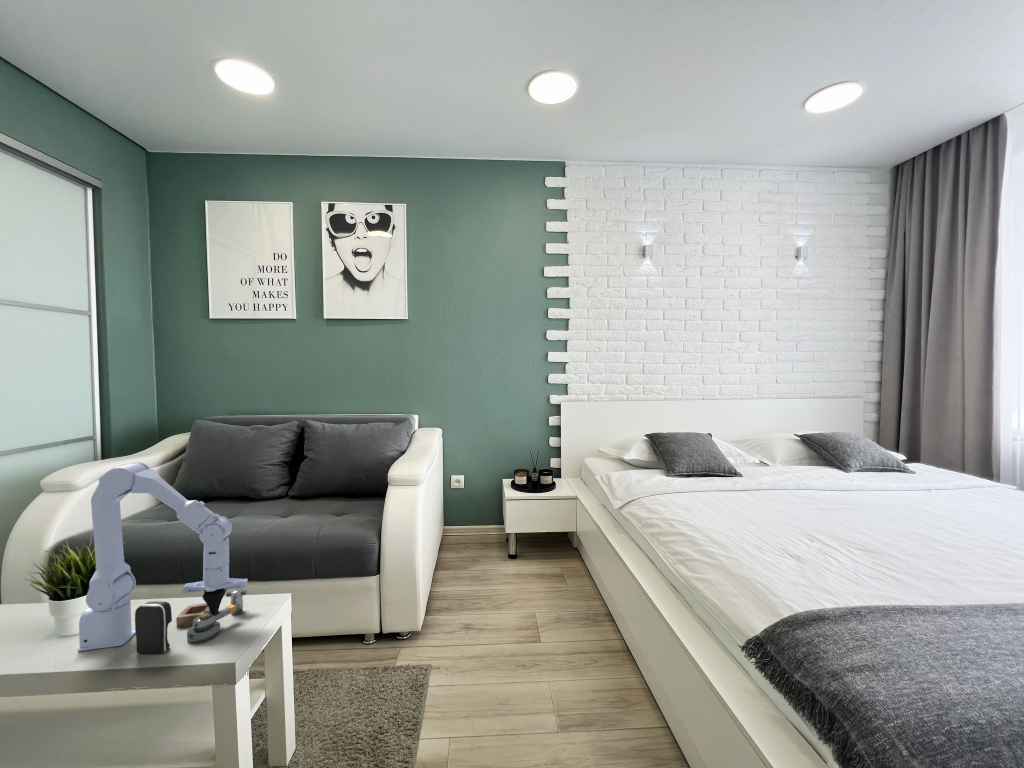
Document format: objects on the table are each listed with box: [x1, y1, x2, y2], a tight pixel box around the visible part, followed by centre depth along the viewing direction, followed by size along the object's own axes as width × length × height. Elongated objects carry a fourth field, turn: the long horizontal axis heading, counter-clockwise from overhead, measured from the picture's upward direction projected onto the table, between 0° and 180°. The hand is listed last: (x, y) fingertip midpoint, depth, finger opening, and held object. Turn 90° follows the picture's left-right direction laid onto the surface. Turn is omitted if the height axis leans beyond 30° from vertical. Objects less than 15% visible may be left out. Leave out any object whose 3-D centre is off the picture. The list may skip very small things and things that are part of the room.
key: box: [225, 588, 248, 616], centre depth 131 cm, size 5×3×6 cm, turn 103°
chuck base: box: [186, 611, 221, 645], centre depth 119 cm, size 7×7×6 cm
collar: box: [192, 604, 236, 632], centre depth 122 cm, size 4×11×2 cm, turn 160°
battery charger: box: [134, 600, 173, 655], centre depth 113 cm, size 7×4×11 cm, turn 86°
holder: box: [175, 602, 211, 628], centre depth 128 cm, size 7×7×3 cm
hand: (215, 617), depth 123 cm, fingers closed, pressing on collar
